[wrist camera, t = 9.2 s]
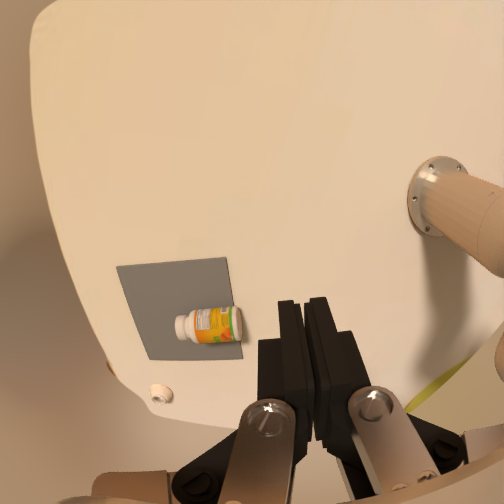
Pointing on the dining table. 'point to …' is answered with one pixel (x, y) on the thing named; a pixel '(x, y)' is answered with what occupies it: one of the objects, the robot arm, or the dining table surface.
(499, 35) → the dining table surface
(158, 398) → the lidless jar
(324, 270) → the dining table surface
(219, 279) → the felt mat
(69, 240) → the dining table surface
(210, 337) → the supplement bottle
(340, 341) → the robot arm
